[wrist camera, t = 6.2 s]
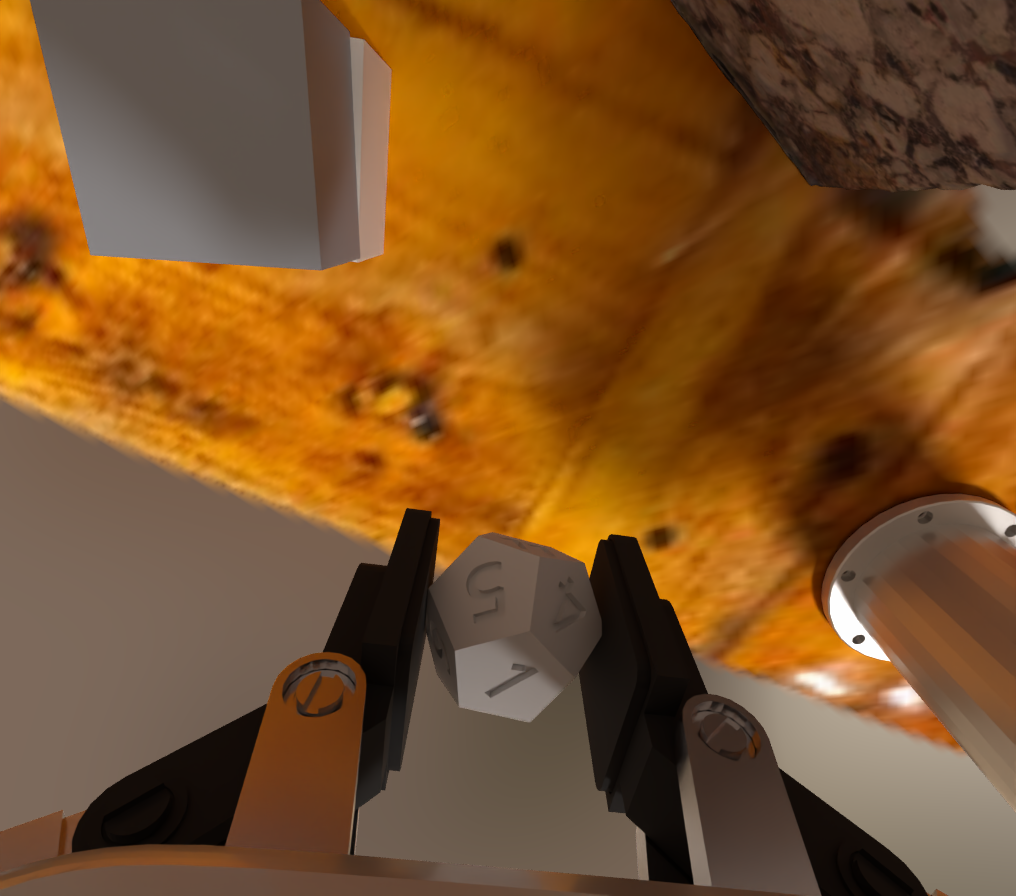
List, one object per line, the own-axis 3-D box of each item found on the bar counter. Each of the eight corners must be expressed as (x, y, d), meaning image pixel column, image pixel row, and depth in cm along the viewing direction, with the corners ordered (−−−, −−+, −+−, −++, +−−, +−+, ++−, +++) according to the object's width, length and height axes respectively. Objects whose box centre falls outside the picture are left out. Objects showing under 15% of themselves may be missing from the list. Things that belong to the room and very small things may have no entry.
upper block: (349, 31, 20) (299, -21, 16) (360, 258, 23) (321, 270, 19) (134, 16, 20) (20, -40, 16) (174, 246, 23) (90, 255, 19)
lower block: (392, 70, 25) (364, 39, 20) (384, 253, 28) (357, 262, 23) (215, 41, 24) (146, 3, 20) (228, 230, 28) (170, 234, 23)
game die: (396, 562, 12) (363, 666, 9) (530, 473, 11) (536, 560, 8) (492, 656, 13) (487, 774, 11) (620, 583, 12) (652, 691, 10)
